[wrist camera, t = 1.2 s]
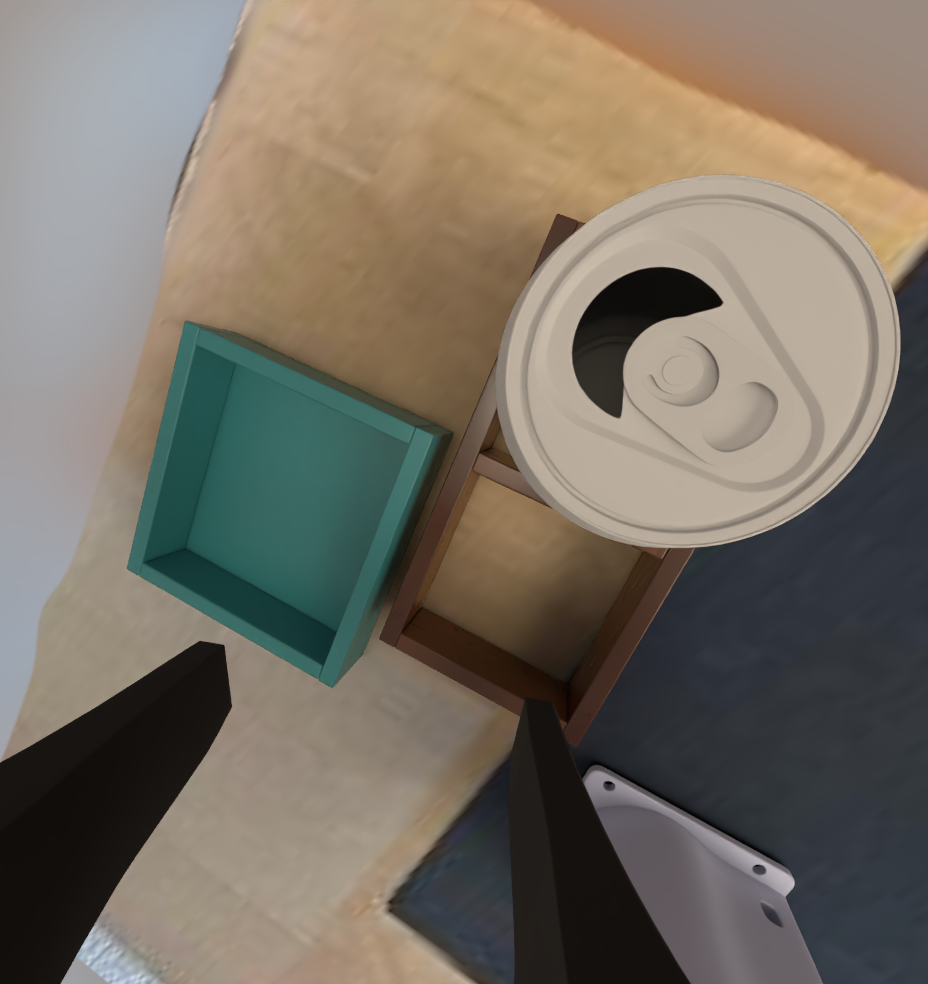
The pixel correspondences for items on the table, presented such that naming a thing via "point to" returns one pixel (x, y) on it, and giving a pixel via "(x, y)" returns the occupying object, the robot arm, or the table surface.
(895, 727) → the table surface
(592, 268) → the beverage can
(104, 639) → the table surface
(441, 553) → the brown divided tray
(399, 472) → the teal square tray
